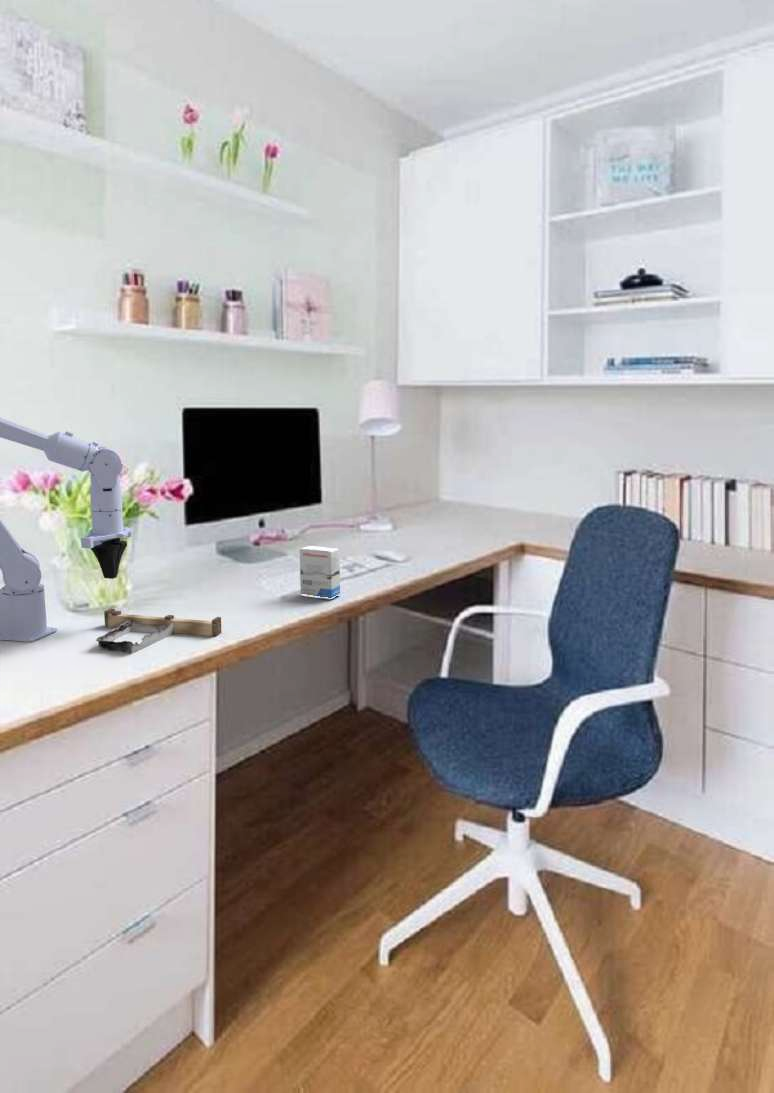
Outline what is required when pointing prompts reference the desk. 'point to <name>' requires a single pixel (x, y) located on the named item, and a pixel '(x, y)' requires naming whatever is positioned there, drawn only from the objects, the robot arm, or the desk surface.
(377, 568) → the desk surface
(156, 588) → the desk surface
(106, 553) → the robot arm
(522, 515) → the desk surface
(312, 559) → the ink box
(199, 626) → the ledge
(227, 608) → the desk surface
